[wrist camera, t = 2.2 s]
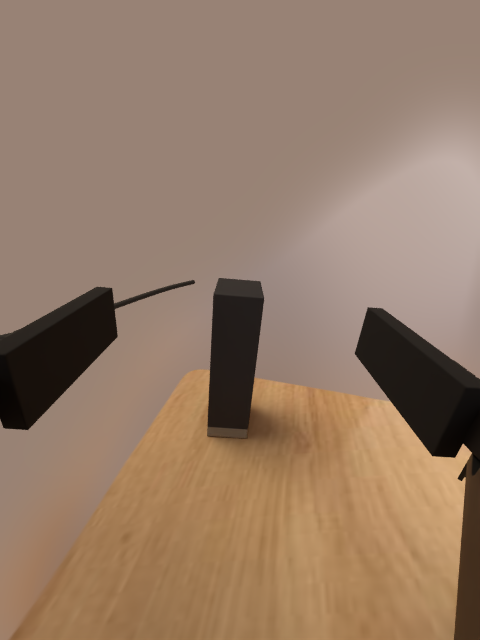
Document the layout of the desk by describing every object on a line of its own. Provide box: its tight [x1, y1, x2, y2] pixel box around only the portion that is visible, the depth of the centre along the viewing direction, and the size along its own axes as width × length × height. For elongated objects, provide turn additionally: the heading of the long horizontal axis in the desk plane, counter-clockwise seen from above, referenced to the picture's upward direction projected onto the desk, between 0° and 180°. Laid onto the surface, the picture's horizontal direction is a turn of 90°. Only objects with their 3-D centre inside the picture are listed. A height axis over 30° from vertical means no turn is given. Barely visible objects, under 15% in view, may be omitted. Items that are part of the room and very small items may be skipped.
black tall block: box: [207, 278, 264, 438], centre depth 26 cm, size 5×4×15 cm
